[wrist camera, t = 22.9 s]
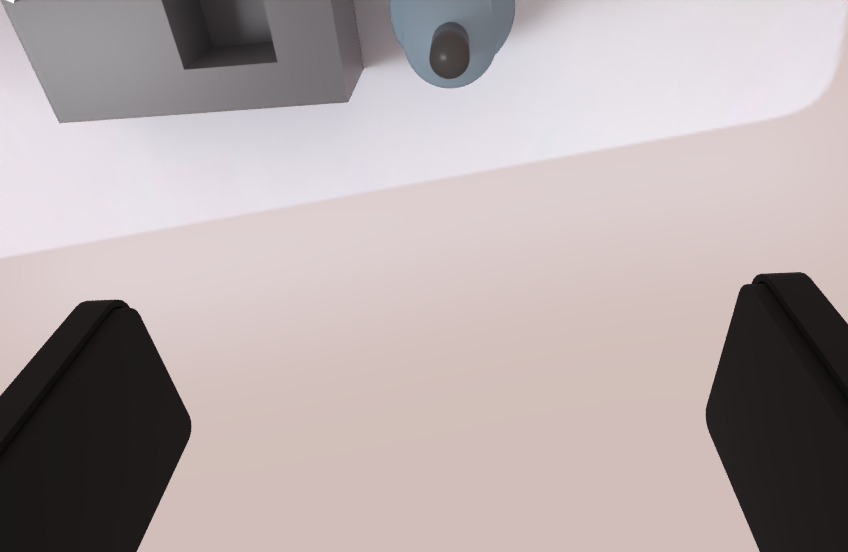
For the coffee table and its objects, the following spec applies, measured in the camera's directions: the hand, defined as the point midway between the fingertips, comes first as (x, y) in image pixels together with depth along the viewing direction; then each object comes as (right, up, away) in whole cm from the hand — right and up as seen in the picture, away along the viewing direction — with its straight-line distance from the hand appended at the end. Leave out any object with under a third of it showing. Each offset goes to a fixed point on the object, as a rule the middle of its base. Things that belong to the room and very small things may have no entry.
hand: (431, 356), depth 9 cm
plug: (+2, +18, +24) cm, 30 cm away
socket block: (-13, +18, +25) cm, 34 cm away
